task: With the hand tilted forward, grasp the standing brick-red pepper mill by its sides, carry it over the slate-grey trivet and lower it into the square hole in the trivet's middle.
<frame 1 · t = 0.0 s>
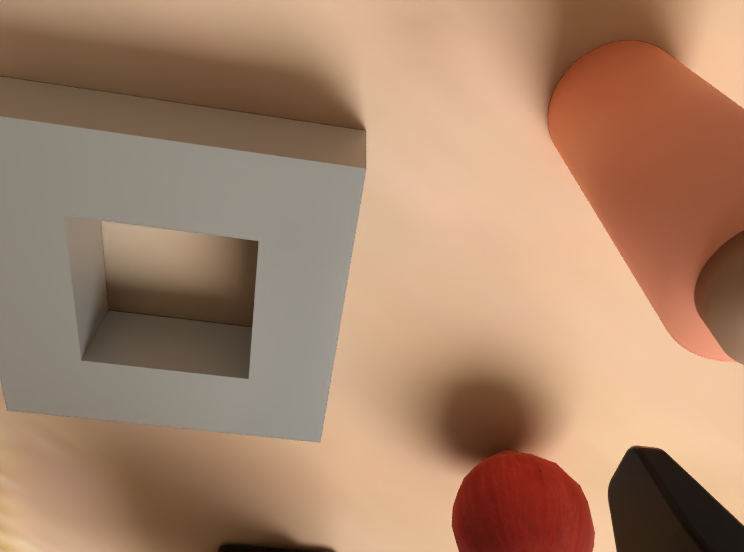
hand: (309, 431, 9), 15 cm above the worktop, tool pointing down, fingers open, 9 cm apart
onion: (504, 452, 31), on the worktop
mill: (615, 108, 22), on the worktop
socket board: (184, 257, 25), on the worktop
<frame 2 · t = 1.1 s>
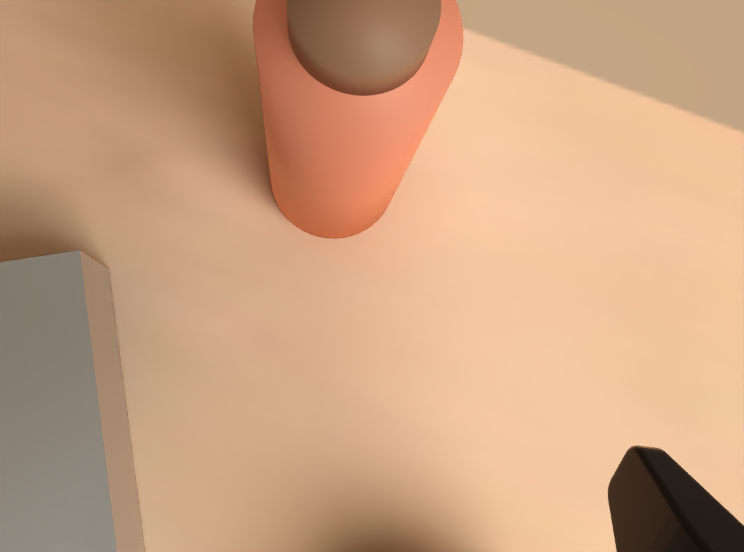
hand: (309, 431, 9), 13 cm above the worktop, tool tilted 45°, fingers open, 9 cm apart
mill: (332, 178, 23), on the worktop
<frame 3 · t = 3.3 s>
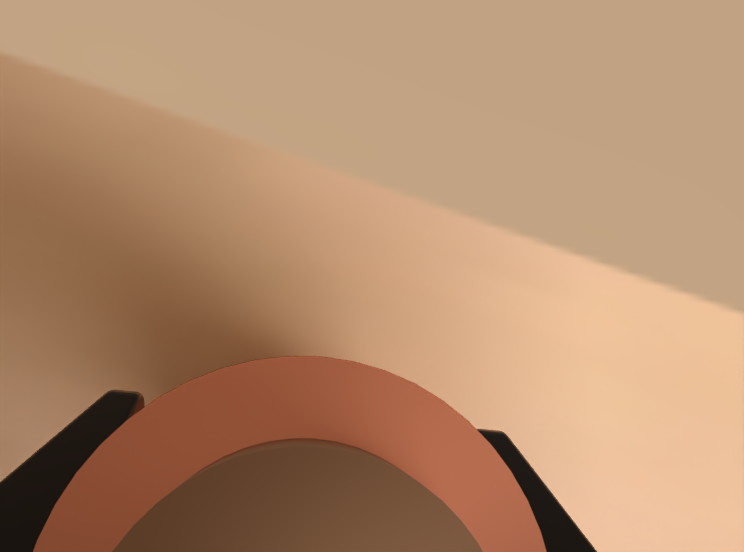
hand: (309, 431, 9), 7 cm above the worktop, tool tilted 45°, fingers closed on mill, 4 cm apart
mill: (295, 478, 15), on the worktop, touching gripper
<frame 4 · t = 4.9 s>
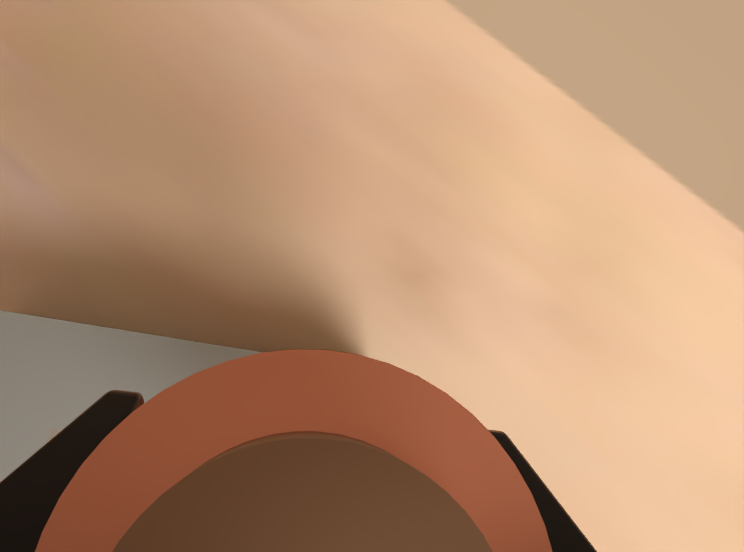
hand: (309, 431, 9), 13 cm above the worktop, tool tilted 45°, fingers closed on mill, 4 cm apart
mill: (297, 475, 15), point 7 cm above the worktop, touching gripper
socket board: (158, 530, 21), on the worktop
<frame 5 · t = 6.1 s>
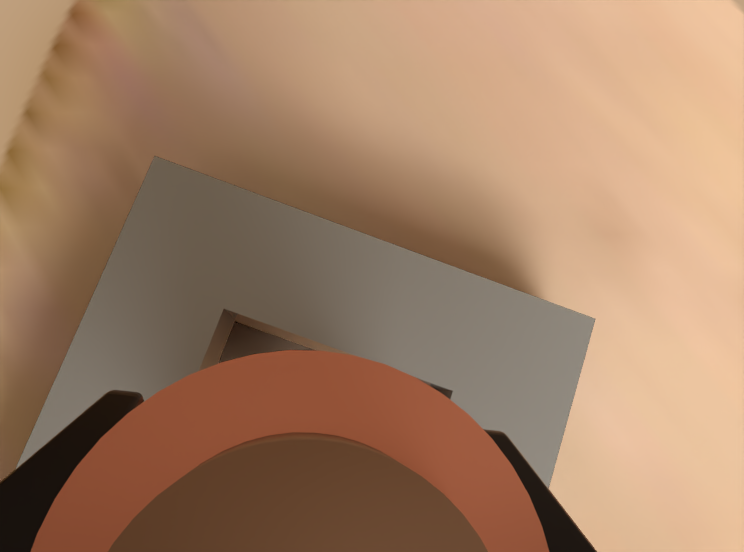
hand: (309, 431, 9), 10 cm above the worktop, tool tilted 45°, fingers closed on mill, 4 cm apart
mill: (295, 476, 15), point 3 cm above the worktop, touching gripper
socket board: (296, 457, 18), on the worktop
when the fingers open (8 cm above the worktop, at t = 6.9 s): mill drops 1 cm, resting in socket board.
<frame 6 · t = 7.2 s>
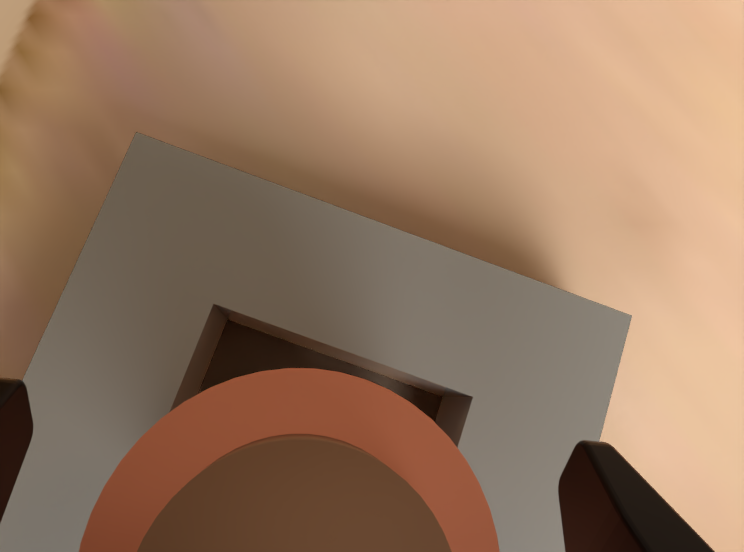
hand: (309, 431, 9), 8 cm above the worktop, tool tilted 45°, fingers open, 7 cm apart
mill: (294, 472, 17), resting in socket board
socket board: (295, 471, 17), on the worktop
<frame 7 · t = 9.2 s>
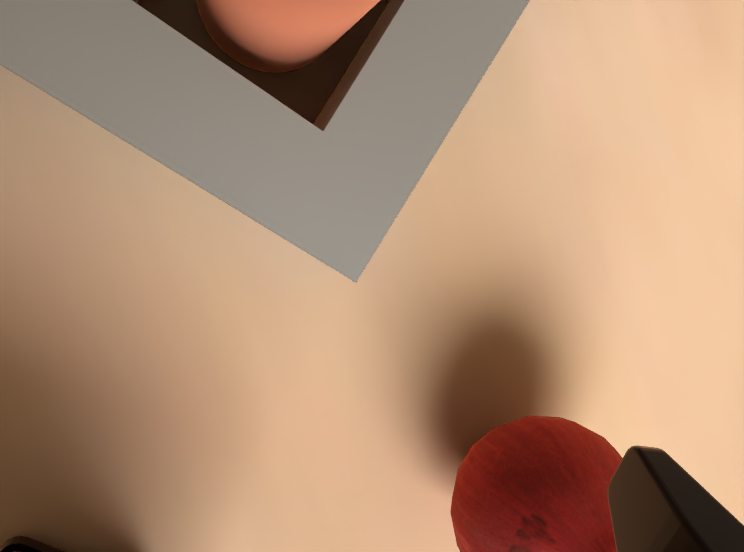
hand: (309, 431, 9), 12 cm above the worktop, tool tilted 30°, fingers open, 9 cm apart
onion: (491, 460, 24), on the worktop
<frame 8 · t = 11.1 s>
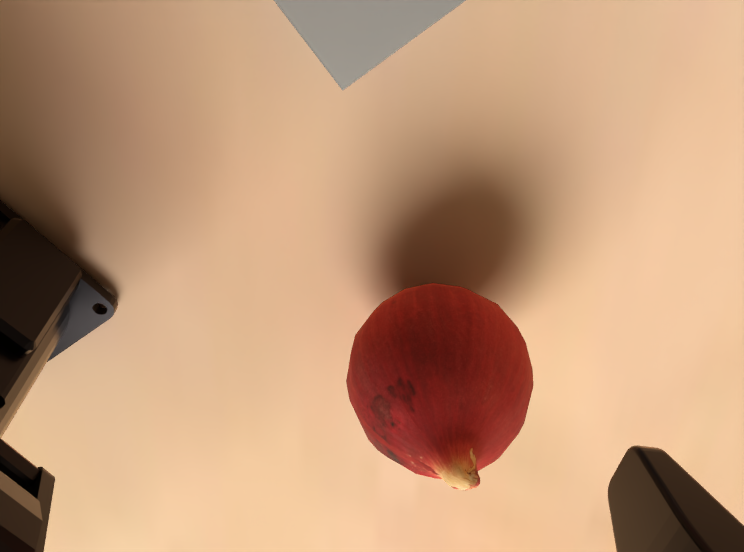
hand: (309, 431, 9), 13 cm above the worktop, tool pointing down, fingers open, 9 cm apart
onion: (428, 303, 24), on the worktop
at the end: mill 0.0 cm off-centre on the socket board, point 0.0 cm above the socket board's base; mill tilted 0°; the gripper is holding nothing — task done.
